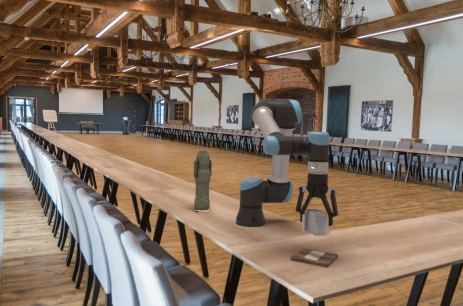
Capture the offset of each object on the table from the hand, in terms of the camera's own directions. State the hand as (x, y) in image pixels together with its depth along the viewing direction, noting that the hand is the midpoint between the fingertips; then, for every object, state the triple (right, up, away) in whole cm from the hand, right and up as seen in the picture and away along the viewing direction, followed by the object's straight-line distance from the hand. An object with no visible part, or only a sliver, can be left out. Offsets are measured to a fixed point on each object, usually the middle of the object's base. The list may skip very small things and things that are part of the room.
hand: (315, 232), depth 150 cm
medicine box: (0, 0, 0) cm, 0 cm away
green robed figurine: (-49, -4, +82) cm, 96 cm away
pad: (0, -10, +1) cm, 10 cm away
